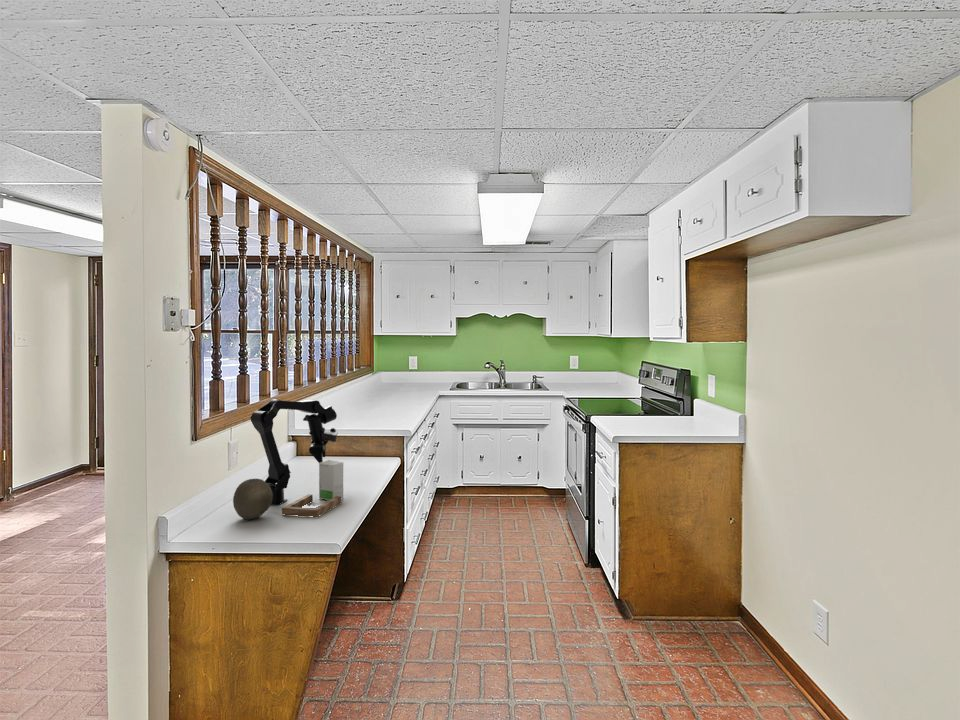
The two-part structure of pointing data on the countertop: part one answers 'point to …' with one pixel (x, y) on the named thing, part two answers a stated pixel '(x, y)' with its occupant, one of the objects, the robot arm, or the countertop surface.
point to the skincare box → (330, 479)
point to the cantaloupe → (252, 498)
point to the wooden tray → (297, 509)
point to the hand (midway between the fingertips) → (322, 460)
